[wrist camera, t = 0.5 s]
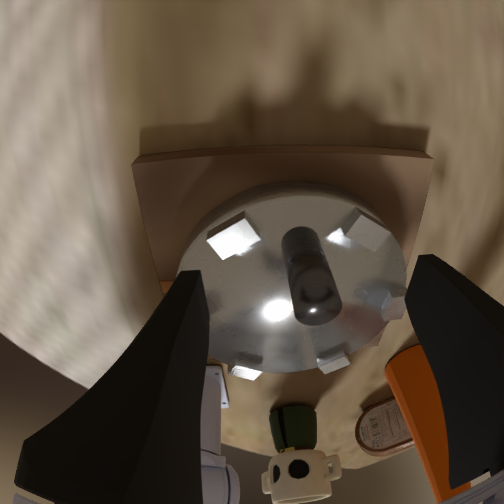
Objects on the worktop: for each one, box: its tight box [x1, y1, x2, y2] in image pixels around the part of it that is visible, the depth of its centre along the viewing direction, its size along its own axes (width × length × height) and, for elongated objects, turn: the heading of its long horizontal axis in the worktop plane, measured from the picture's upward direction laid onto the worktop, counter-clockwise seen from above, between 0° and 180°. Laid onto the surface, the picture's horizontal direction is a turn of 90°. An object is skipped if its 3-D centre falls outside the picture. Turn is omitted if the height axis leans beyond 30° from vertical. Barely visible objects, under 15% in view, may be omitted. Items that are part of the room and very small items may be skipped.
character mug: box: [262, 405, 342, 504], centre depth 32 cm, size 11×7×13 cm, turn 127°
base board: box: [131, 145, 434, 359], centre depth 22 cm, size 18×18×2 cm
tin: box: [355, 397, 415, 457], centre depth 34 cm, size 15×3×8 cm, turn 120°
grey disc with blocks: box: [176, 180, 407, 380], centre depth 18 cm, size 15×15×7 cm
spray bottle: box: [385, 344, 471, 503], centre depth 20 cm, size 7×11×26 cm, turn 32°
